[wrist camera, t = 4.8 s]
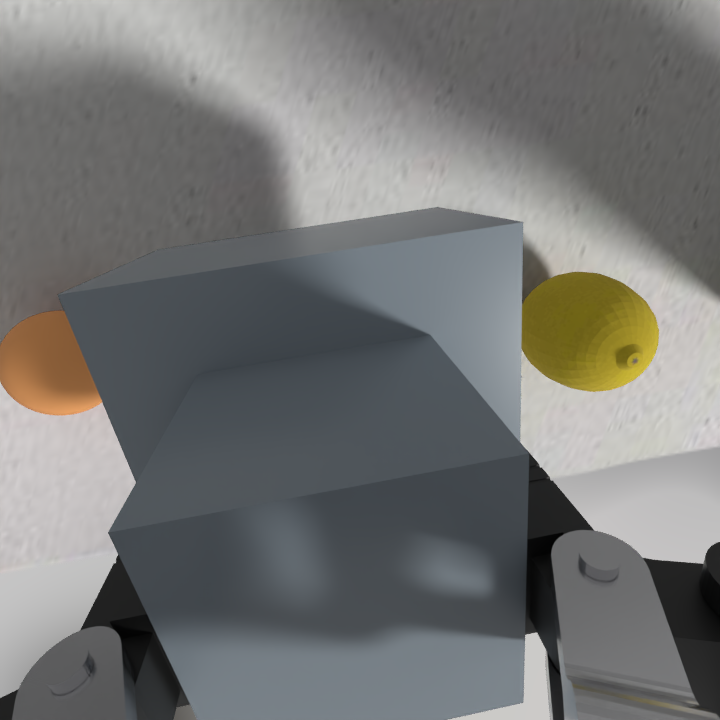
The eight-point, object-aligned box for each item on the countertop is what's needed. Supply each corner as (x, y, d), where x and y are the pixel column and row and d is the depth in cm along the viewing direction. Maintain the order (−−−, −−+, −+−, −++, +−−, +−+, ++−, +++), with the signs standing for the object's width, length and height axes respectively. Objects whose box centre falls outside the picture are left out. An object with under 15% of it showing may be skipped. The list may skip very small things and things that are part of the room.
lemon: (504, 256, 24) (592, 291, 16) (598, 263, 24) (722, 298, 17) (485, 351, 26) (556, 419, 18) (572, 354, 26) (673, 421, 19)
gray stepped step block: (437, 207, 16) (721, 256, 5) (451, 439, 20) (627, 745, 9) (158, 249, 15) (-197, 408, 4) (230, 479, 19) (133, 859, 8)
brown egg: (120, 292, 22) (70, 321, 18) (151, 378, 24) (113, 425, 19) (20, 307, 22) (-57, 340, 17) (60, 393, 24) (0, 444, 19)
